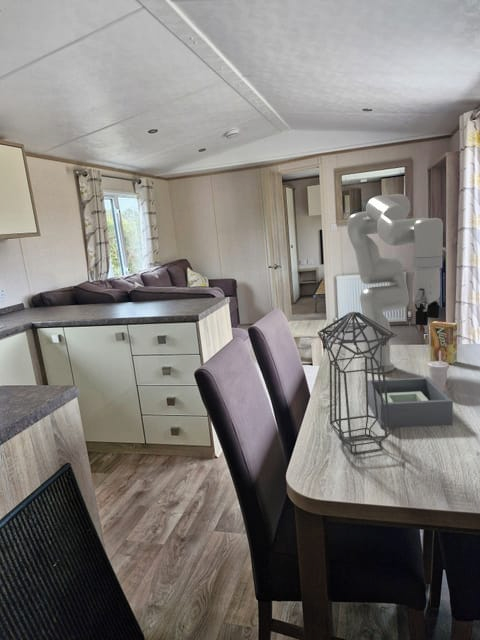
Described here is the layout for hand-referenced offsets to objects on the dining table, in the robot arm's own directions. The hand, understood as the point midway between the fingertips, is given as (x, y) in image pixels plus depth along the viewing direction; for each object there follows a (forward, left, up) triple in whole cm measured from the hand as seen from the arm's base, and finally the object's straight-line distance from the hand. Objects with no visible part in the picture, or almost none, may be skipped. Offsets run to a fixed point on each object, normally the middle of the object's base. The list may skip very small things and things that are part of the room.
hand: (427, 321), depth 128 cm
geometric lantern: (+22, -25, -26) cm, 42 cm away
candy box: (-40, +19, -26) cm, 51 cm away
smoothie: (-9, +6, -26) cm, 28 cm away
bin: (+5, -8, -26) cm, 28 cm away
